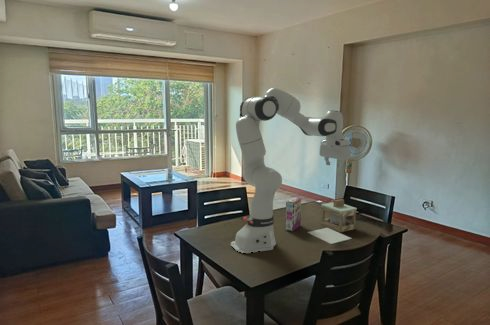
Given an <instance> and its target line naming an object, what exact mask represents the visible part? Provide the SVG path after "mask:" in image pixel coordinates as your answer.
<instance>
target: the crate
mask: <svg viewBox="0 0 490 325" xmlns="http://www.w3.org/2000/svg"><path fill="white" fill-rule="evenodd" d="M326 213H327V214H329V215H331V214H332V215H335V216H337V217H339V226H337V225H335V224H333V223H330V221H331V217H328V218H326V217H325V216H326ZM356 214H357V210H354V211H349V212H344V213H339V212H336V211H334V210H331V209H328V208H325V207H323V206H321V224H320V225H322V226H324V227H325V228H329V229H332V230H334V231H336V232H338V233H341V234H342V233H344V232H348V231H351V230H352V231H353V230H355V229H356ZM343 217H346V218H347V217H352V218H351V222H350V221H349V220H346V226H342V218H343Z"/></svg>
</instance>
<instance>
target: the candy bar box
mask: <svg viewBox="0 0 490 325" xmlns="http://www.w3.org/2000/svg"><path fill="white" fill-rule="evenodd" d="M301 217H302V198H301V197H296V196H294V197H292V198H289V199H288V200H287V201H285V223H284V224H285V228H284V229H285V231H289V232H294V231H295V230H297V229H298V228H299V227H300V226H301Z"/></svg>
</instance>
